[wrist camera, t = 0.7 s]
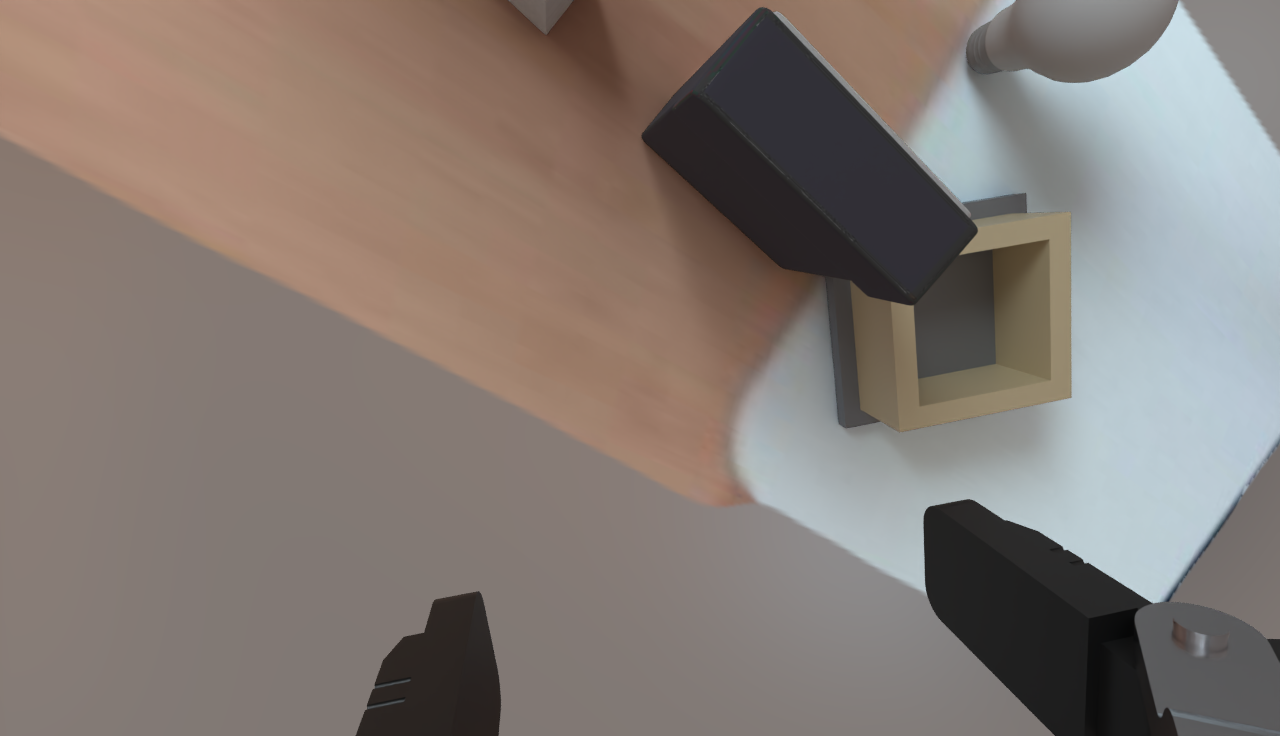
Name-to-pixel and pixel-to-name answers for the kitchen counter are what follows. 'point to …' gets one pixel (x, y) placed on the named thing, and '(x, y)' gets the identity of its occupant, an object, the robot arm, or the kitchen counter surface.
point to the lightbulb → (1069, 37)
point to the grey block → (542, 11)
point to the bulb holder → (962, 328)
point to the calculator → (809, 166)
